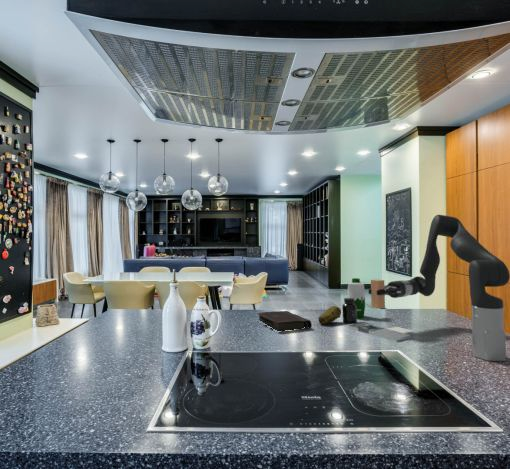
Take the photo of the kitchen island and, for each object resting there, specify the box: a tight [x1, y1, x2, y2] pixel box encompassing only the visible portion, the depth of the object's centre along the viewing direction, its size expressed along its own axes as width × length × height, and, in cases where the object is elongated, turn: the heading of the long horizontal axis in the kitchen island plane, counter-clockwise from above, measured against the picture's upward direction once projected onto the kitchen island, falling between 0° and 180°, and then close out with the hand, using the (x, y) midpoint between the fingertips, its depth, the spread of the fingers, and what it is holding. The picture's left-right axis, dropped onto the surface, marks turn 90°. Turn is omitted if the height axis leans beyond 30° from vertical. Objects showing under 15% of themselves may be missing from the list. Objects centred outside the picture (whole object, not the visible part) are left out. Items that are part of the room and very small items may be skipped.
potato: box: [318, 305, 342, 325], centre depth 174 cm, size 8×13×8 cm, turn 105°
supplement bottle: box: [341, 297, 358, 325], centre depth 175 cm, size 7×7×12 cm
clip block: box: [370, 279, 386, 309], centre depth 156 cm, size 4×4×12 cm
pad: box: [387, 326, 414, 334], centre depth 156 cm, size 9×9×1 cm
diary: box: [256, 310, 312, 331], centre depth 173 cm, size 19×25×5 cm
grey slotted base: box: [347, 322, 412, 342], centre depth 152 cm, size 26×9×2 cm, turn 30°
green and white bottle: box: [347, 277, 366, 319], centre depth 188 cm, size 9×9×20 cm
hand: (373, 292), depth 155 cm, fingers closed on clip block, 4 cm apart
